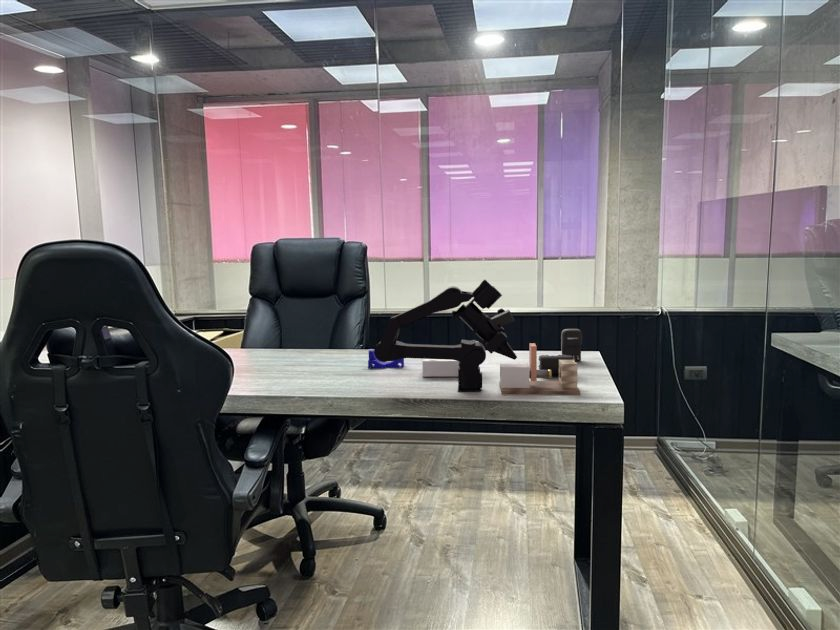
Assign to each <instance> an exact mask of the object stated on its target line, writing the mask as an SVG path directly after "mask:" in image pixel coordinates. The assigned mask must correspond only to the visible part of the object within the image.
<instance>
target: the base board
mask: <svg viewBox="0 0 840 630" xmlns="http://www.w3.org/2000/svg"><path fill="white" fill-rule="evenodd" d="M499 389H500V392H501V395H502V394H545V396H546V394H550V395H551V394H564V395H563V396H567V395H574V396H575V395H576V396H577V395H578V396H579V395H581V390H580V389H579V387H578V386H577V388H561V386H560V385H559V380H537V381H531V380H529V388H501V386H500V385H499ZM565 394H566V395H565Z"/></svg>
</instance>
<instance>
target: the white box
mask: <svg viewBox="0 0 840 630" xmlns="http://www.w3.org/2000/svg"><path fill="white" fill-rule="evenodd" d="M475 342H479V340H478V341H477V340H475ZM421 363H422V377H458V367H459V361H456V360H446V359H423V360H422V362H421Z"/></svg>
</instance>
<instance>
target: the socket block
mask: <svg viewBox="0 0 840 630" xmlns="http://www.w3.org/2000/svg"><path fill="white" fill-rule="evenodd" d="M558 381H559V385H560V386H561V388H577V387H578V362H577V361H576V362H575V361H574V360H559V376H558Z"/></svg>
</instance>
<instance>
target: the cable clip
mask: <svg viewBox="0 0 840 630" xmlns="http://www.w3.org/2000/svg"><path fill="white" fill-rule="evenodd" d="M400 364H401V365H400ZM367 365H368V366H367V368H368V370H369V369H371V370H372V369H375V370H376V369H386V368H394V369H395V368H397V369H398V368H404V367H405V358H404V359H400V360H395V361H388V362H381V361H379V360H378V359H377V358H376V357H375V355H374V349H369V350H368V360H367Z"/></svg>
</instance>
